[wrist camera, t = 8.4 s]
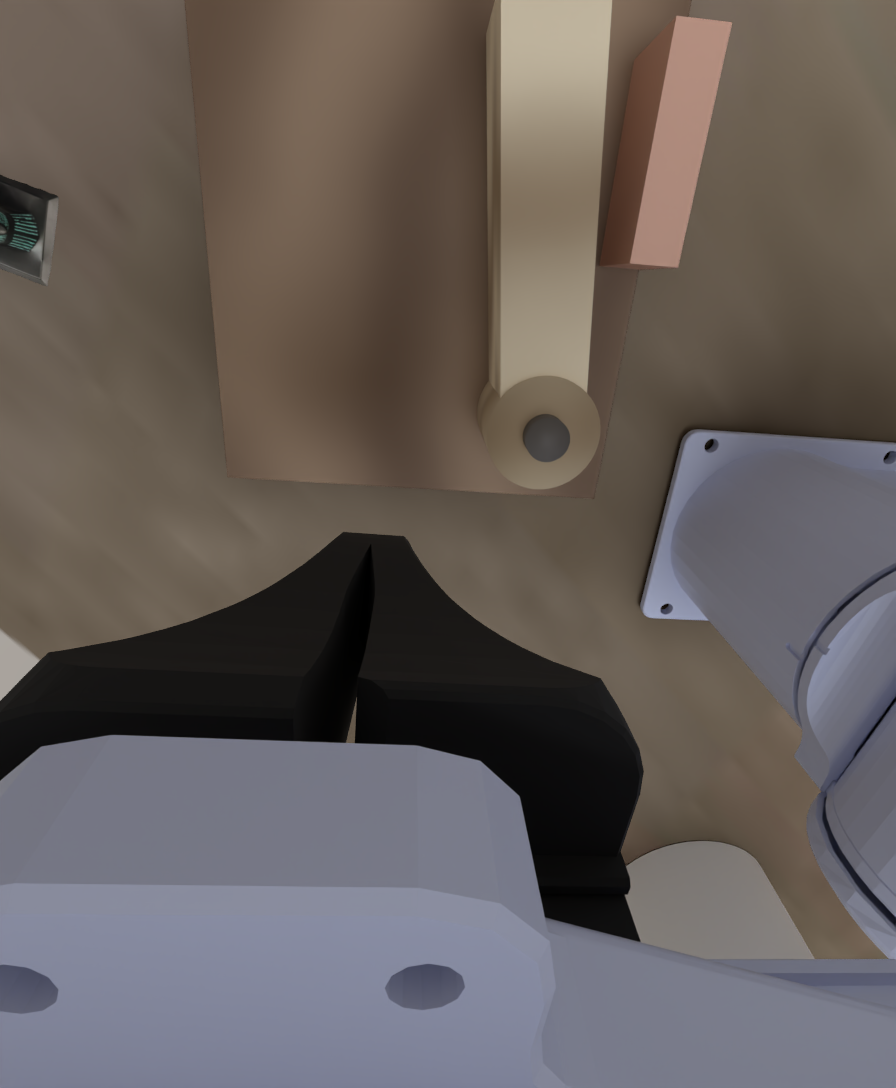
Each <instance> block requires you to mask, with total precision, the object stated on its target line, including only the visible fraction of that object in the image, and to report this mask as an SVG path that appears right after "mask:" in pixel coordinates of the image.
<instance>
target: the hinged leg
mask: <svg viewBox="0 0 896 1088" xmlns="http://www.w3.org/2000/svg"><path fill="white" fill-rule="evenodd" d="M611 12H612V0H495V2H494V6H493V10H492V13H491V17H490V21H489V25H488V29H487V33H486V72H487V208H488V344H489V381H488V382H487V384H486V385H485V387H484V389H483V391H482V393H481V395H480V398H479V401H478V407H477V420H478V425H479V428H480V431H481V434H482V436H483V439H484V441H485V444H486V446H487V449H488V451H489V454H490V456H491V459H492V461H493V463H494V465H495V466H496V468H497V469H498V470H499V472H500V473H501V474H502V475H503V476H504V477H506V478H507V479H508V480H509V481H511V482H513V483H515V484H517V485H519V486H521V487H525V488H529V489H550V488H554V487H557V486H560V485H563V484H565V483H567V482H569V481H570V480H572V479H573V478H575V477H576V476H577V475H579V474H580V473H581V472H582V471H583V470H584V469H585V468H586V467H587V465H588V464H589V463H590V461H591V460H592V458H593V456H594V454H595V452H596V450H597V447H598V443H599V439H600V428H601V425H600V418H599V414H598V410H597V408H596V406H595V404H594V402H593V400H592V399H591V397H590V396H589V395H588V394H587V385H588V369H589V354H590V338H591V323H592V307H593V292H594V276H595V261H596V245H597V230H598V214H599V198H600V183H601V167H602V152H603V136H604V121H605V105H606V90H607V74H608V59H609V43H610V27H611Z"/></svg>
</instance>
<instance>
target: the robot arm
mask: <svg viewBox="0 0 896 1088" xmlns="http://www.w3.org/2000/svg"><path fill="white" fill-rule="evenodd" d="M710 439H713V440H714V444H713V446H712V447H711V448H710V449H708V450H705V444H706V442H707V441H708V440H710ZM888 452H890V454H889V456H888V458H887V459H886V460H884V456H885V455H886V454H887V453H888ZM883 460H884V461H883ZM664 604H669V605H668V607H667V608H665V609H662V610H661V607H662V606H663V605H664ZM640 608H641V610H642V612H643V613H644V615H645V616H647V617H649V618H661V619H684V620H707V621H710V622H711V623H712V625H713V626H714V627H715V628H716V629H717V631H718V632H719V633H720V634H721V635H722V636H723V638H724V639H725V640H726V641H727V642H728V643H729V645H730V646H731V647H732V648H733V649H734V650H735V652H736V653H737V654H738V655H739V656H740V658H741V659H742V660H743V661H744V662H745V663H746V665H747V666H748V667H749V668H750V669H751V670H752V672H753V673H754V674H755V675H756V676H757V678H758V679H759V680H760V681H761V682H762V683H763V685H764V686H765V687H766V688H767V689H768V690H769V692H770V693H771V694H772V695H773V696H774V697H775V699H776V700H777V701H778V702H779V703H780V705H781V706H782V707H783V708H784V709H785V710H786V712H787V713H788V714H789V715H790V716H791V717H792V719H793V720H794V721H795V722H796V723H797V725H798V726H799V727H800V728H801V729H802V730H803V733H802V740H801V743H800V746H799V748H798V749H797V751H796V753H795V756H794V757H795V758H796V760H797V761H798V762H799V763H800V765H801V766H802V767H803V769H804V770H805V771H806V772H807V774H808V775H809V776H810V777H811V779H812V780H813V781H814V783H815V784H816V785H817V786H818V788H819V789H820V790H821V791H822V792H821V793H819V794H818V795H817V797H816V798H815V800H814V801H813V802H812V804H811V806H810V809H809V811H808V814H807V834H808V838H809V843H810V846H811V849H812V851H813V853H814V856H815V858H816V860H817V863H818V865H819V867H820V868H821V870H822V872H823V874H824V875H825V877H826V879H827V881H828V882H829V884H830V886H831V887H832V889H833V890H834V891H835V893H836V895H837V896H838V898H839V899H840V901H841V903H842V904H843V906H844V907H845V908H846V910H847V911H848V913H849V914H850V915H851V917H852V918H853V919H854V920H855V922H856V923H857V924H858V925H859V927H860V928H861V929H862V930H863V931H864V932H865V934H866V935H867V936H868V937H869V938H870V939H871V940H872V941H873V943H874V944H875V945H876V946H877V947H878V948H879V949H880V950H881V951H882V952H883V953H884V954H885V955H886V956H887V957H888V958H889V959H703V958H700V957H696V956H692V955H688V954H684V953H680V952H676V951H672V950H669V949H665V948H661V947H657V946H653V945H649V944H645V943H641V941H640V938H639V935H638V932H637V929H636V926H635V923H634V921H633V918H632V915H631V912H630V909H629V906H628V903H627V900H626V897H625V894H626V895H628V893H629V890H630V887H631V886H630V876H629V874H628V871H627V868H626V866H625V863H624V860H623V857H622V855H621V852H620V851H621V848H622V845H623V842H624V839H625V836H626V833H627V830H628V828H629V825H630V822H631V819H632V816H633V813H634V810H635V807H636V804H637V801H638V798H639V795H640V790H641V784H642V778H643V772H644V771H643V766H642V761H641V756H640V751H639V748H638V746H637V744H636V741H635V739H634V737H633V735H632V733H631V731H630V729H629V727H628V725H627V723H626V721H625V719H624V717H623V715H622V713H621V711H620V709H619V708H618V706H617V704H616V702H615V701H614V699H613V698H612V696H611V695H610V693H609V691H608V690H607V688H606V687H605V685H604V683H603V681H602V680H601V678H598V677H595V676H592V675H589V674H587V673H584V672H581V671H578V670H575V669H572V668H570V667H567V666H564V665H561V664H558V663H555V662H553V661H550V660H548V659H545V658H543V657H541V656H539V655H537V654H535V653H533V652H530V651H528V650H526V649H524V648H522V647H520V646H518V645H516V644H514V643H513V642H511V641H509V640H507V639H505V638H504V637H502V636H500V635H499V634H497V633H496V632H494V631H492V630H491V629H489V628H488V627H486V626H484V625H483V624H482V623H480V622H479V621H477V620H476V619H475V618H473V617H472V616H471V615H470V614H468V613H467V612H466V611H465V610H463V609H462V608H461V607H460V606H459V605H457V604H456V603H455V602H454V601H453V600H452V599H451V598H450V597H449V596H448V595H447V594H446V593H445V592H444V591H443V590H442V589H441V588H440V587H439V586H438V584H437V583H436V582H435V581H434V580H433V578H432V577H431V576H430V574H429V573H428V572H427V570H426V569H425V568H424V566H423V565H422V564H421V562H420V561H419V559H418V557H417V556H416V554H415V553H414V551H413V549H412V547H411V545H410V543H409V542H408V540H407V539H406V538H405V537H404V536H392V535H377V534H363V533H349V532H343V533H342V534H340V535H339V536H338V537H337V538H335V539H334V540H333V541H332V542H331V543H329V544H328V545H327V546H326V547H325V548H323V549H322V550H321V551H320V552H319V553H317V554H316V555H315V556H314V557H312V558H311V559H310V560H309V561H307V562H306V563H305V564H303V565H302V566H301V567H299V568H298V569H296V570H295V571H293V572H292V573H290V574H289V575H287V576H286V577H284V578H283V579H281V580H280V581H278V582H277V583H275V584H273V585H272V586H270V587H268V588H266V589H264V590H263V591H261V592H259V593H257V594H255V595H253V596H251V597H249V598H247V599H245V600H243V601H241V602H239V603H236V604H234V605H232V606H229V607H227V608H224V609H221V610H219V611H216V612H214V613H211V614H208V615H206V616H203V617H201V618H198V619H195V620H193V621H190V622H187V623H183V624H180V625H177V626H173V627H170V628H167V629H163V630H159V631H155V632H152V633H148V634H144V635H140V636H136V637H131V638H127V639H123V640H118V641H112V642H107V643H101V644H96V645H90V646H85V647H79V648H74V649H68V650H62V651H56V652H49V653H48V654H47V655H46V656H45V657H43V658H42V659H41V660H40V661H39V662H38V663H37V664H36V665H35V666H34V667H33V668H32V669H31V670H30V671H29V672H28V673H27V674H26V675H25V676H24V677H23V678H22V679H21V680H20V681H19V682H18V683H17V685H15V687H14V688H13V689H12V690H11V691H10V692H9V693H8V694H7V695H6V696H5V697H4V698H3V699H2V700H1V701H0V1088H896V443H893V442H878V441H864V440H849V439H834V438H820V437H805V436H790V435H776V434H761V433H746V432H732V431H717V430H702V429H696V430H691V431H690V432H688V433H687V434H686V435H685V436H684V437H683V439H682V441H681V445H680V449H679V453H678V457H677V461H676V465H675V469H674V473H673V477H672V481H671V485H670V489H669V493H668V497H667V501H666V505H665V509H664V513H663V517H662V521H661V525H660V528H659V532H658V536H657V540H656V544H655V548H654V552H653V556H652V560H651V564H650V568H649V572H648V576H647V580H646V584H645V588H644V592H643V596H642V600H641V604H640ZM356 697H357V708H356V730H355V743H346V740H347V735H348V731H349V727H350V723H351V719H352V714H353V710H354V706H355V702H356Z"/></svg>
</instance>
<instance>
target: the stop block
mask: <svg viewBox="0 0 896 1088" xmlns="http://www.w3.org/2000/svg"><path fill="white" fill-rule="evenodd" d="M731 26H732V22H724V21H716V20H708V19H700V18H692V17H683V16H676V17H675V18H674V19H673V20H672V21H671V22H670V23H669V24H668V25H667V26H666V27H665V28H664V29H663V30H662V31H661V33H660V34H659V35H658V36H657V37H656V38H655V39H654V40H653V41H652V42H651V43H650V44H649V45H648V46H647V47H646V48H645V49H644V50H643V51H642V52H641V53H640V54H639V56H638V57H637V58H636V59H635V60H634V63H633V69H632V75H631V81H630V87H629V93H628V99H627V105H626V111H625V117H624V123H623V129H622V135H621V141H620V146H619V152H618V158H617V164H616V170H615V176H614V182H613V188H612V194H611V200H610V206H609V212H608V218H607V223H606V229H605V235H604V241H603V247H602V253H601V259H600V265H599V266H603V267H614V268H625V269H637V270H646V269H664V268H678V265H679V261H680V256H681V252H682V247H683V243H684V238H685V234H686V229H687V225H688V220H689V216H690V211H691V207H692V202H693V198H694V193H695V188H696V184H697V179H698V175H699V170H700V166H701V161H702V157H703V152H704V148H705V143H706V139H707V134H708V130H709V125H710V121H711V116H712V112H713V107H714V103H715V98H716V94H717V89H718V84H719V80H720V75H721V71H722V66H723V62H724V57H725V53H726V48H727V44H728V39H729V35H730V30H731Z"/></svg>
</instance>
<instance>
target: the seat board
mask: <svg viewBox="0 0 896 1088" xmlns="http://www.w3.org/2000/svg"><path fill="white" fill-rule="evenodd" d="M691 1H692V0H612V12H611V27H610V43H609V59H608V74H607V90H606V105H605V121H604V136H603V152H602V167H601V183H600V198H599V214H598V230H597V245H596V261H595V276H594V292H593V307H592V323H591V338H590V354H589V369H588V385H587V394H588V395H589V396H590V397H591V399H592V400H593V402H594V404H595V406H596V408H597V410H598V414H599V418H600V425H601V428H600V439H599V443H598V447H597V450H596V452H595V454H594V456H593V458H592V460H591V461H590V463H589V464H588V465H587V467H586V468H585V469H584V470H583V471H582V472H581V473H580V474H579V475H577V476H576V477H575V478H573V479H572V480H570V481H569V482H567V483H565V484H563V485H560V486H557V487H554V488H550V489H529V488H525V487H521V486H519V485H517V484H515V483H513V482H511V481H509V480H508V479H507V478H506V477H504V476H503V475H502V474H501V473H500V472H499V470H498V469H497V468H496V466H495V465H494V463H493V461H492V459H491V456H490V454H489V451H488V449H487V446H486V444H485V441H484V439H483V436H482V434H481V431H480V428H479V425H478V420H477V407H478V401H479V398H480V395H481V393H482V391H483V389H484V387H485V385H486V384H487V382H488V381H489V344H488V208H487V72H486V33H487V29H488V25H489V21H490V17H491V13H492V10H493V6H494V2H495V0H185V10H186V21H187V32H188V44H189V55H190V66H191V77H192V88H193V99H194V110H195V122H196V133H197V144H198V155H199V166H200V177H201V188H202V200H203V211H204V222H205V233H206V244H207V255H208V266H209V278H210V289H211V300H212V311H213V322H214V333H215V344H216V355H217V367H218V378H219V389H220V400H221V411H222V422H223V433H224V445H225V456H226V467H227V477H231V478H248V479H265V480H283V481H300V482H317V483H334V484H351V485H368V486H385V487H403V488H420V489H437V490H454V491H471V492H488V493H505V494H523V495H540V496H557V497H574V498H591V499H594V497H595V492H596V487H597V482H598V477H599V472H600V466H601V461H602V456H603V451H604V446H605V441H606V436H607V431H608V426H609V420H610V415H611V410H612V405H613V400H614V395H615V390H616V385H617V380H618V374H619V369H620V364H621V359H622V354H623V349H624V344H625V339H626V333H627V328H628V323H629V318H630V313H631V308H632V303H633V298H634V293H635V287H636V282H637V277H638V272H639V270H637V269H625V268H614V267H603V266H599V265H600V259H601V253H602V247H603V241H604V235H605V229H606V223H607V218H608V212H609V206H610V200H611V194H612V188H613V182H614V176H615V170H616V164H617V158H618V152H619V146H620V141H621V135H622V129H623V123H624V117H625V111H626V105H627V99H628V93H629V87H630V81H631V75H632V69H633V63H634V60H635V59H636V58H637V57H638V56H639V54H640V53H641V52H642V51H643V50H644V49H645V48H646V47H647V46H648V45H649V44H650V43H651V42H652V41H653V40H654V39H655V38H656V37H657V36H658V35H659V34H660V33H661V31H662V30H663V29H664V28H665V27H666V26H667V25H668V24H669V23H670V22H671V21H672V20H673V19H674V18H675V17H676V16H683V17H688V16H689V11H690V6H691Z"/></svg>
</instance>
